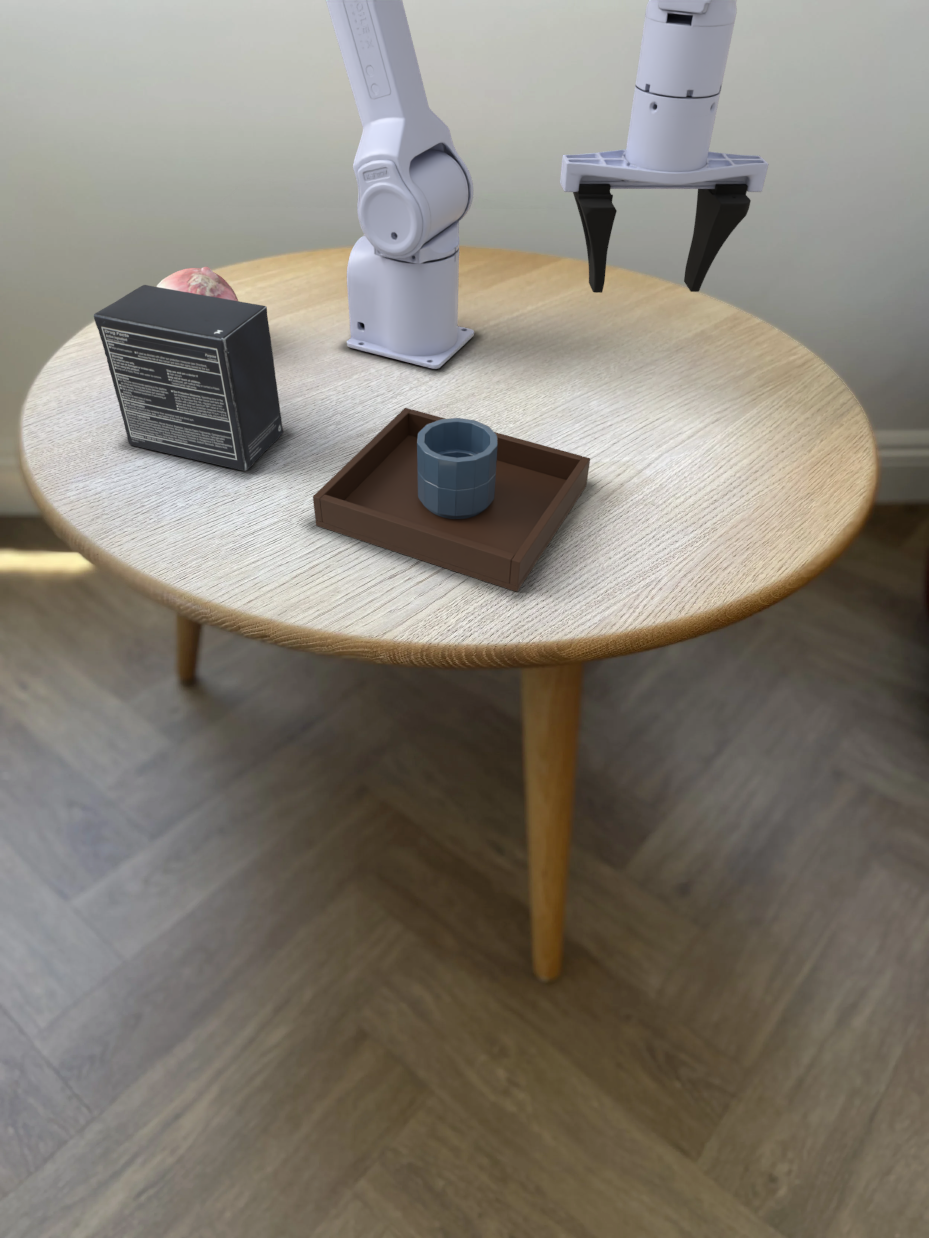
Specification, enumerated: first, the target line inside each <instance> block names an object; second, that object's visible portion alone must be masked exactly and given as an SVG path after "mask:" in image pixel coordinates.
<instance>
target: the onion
mask: <svg viewBox="0 0 929 1238" xmlns="http://www.w3.org/2000/svg"><path fill="white" fill-rule="evenodd" d="M156 287H160V288H166V289H171V290H177V291H182V292H189V293H194V294H199V295H205V296H211V297H217V298H223V299H228V300H234V301H239V299H238V297H237V294H236V292H235V290H234V289H233V288H232V286H231V285H230V284H229V283H228V282H227V280H225V278H224V277H222V276H221V275H220V274H218V273H217V272H214V271H213V270H212V269H211V268H210V267H209V266H203V267H189V268H184V269H180V270H178V271H175V272H173V273H171V274H169V275H168V276H166V277H164V278H163V279H162V280H161V281H159V283H157V285H156Z"/></svg>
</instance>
